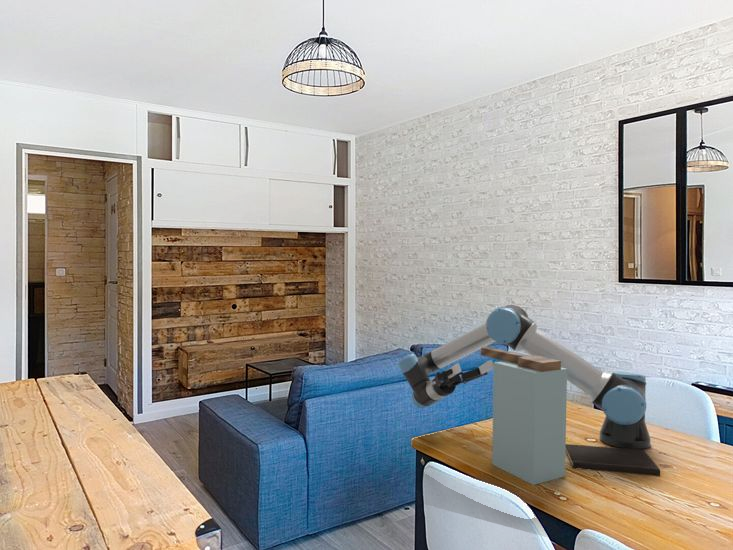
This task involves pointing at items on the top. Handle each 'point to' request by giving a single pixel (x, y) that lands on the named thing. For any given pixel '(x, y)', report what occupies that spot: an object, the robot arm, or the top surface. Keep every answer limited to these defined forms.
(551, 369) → the brown tapered block
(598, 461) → the hardcover book
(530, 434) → the stand
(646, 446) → the robot arm
